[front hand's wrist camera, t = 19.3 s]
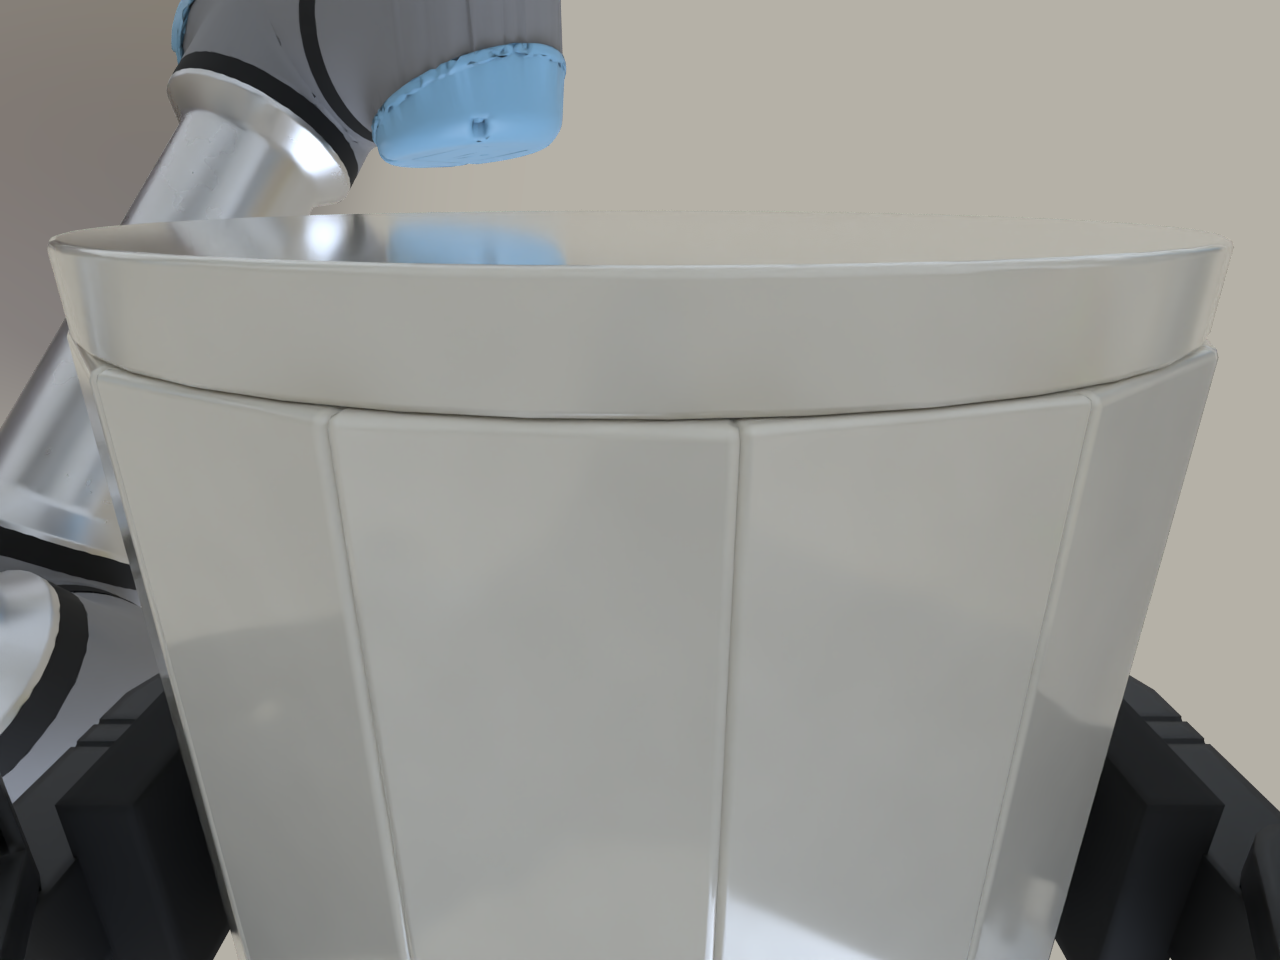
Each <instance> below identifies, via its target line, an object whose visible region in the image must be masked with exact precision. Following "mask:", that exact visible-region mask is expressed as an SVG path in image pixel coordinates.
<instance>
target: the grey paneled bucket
mask: <svg viewBox="0 0 1280 960" xmlns="http://www.w3.org/2000/svg"><path fill="white" fill-rule="evenodd" d="M47 250H48V254H49V257H50V261H51V265H52V268H53V272H54V276H55V279H56V283H57V287H58V290H59V294H60V298H61V301H62V305H63V309H64V312H65V316H66V320H67V323H68V327H69V330H68V335H67V339H68V343H69V347H70V350H71V354H72V358H73V361H74V365H75V368H76V372H77V376H78V379H79V383H80V387H81V390H82V394H83V397H84V401H85V405H86V408H87V412H88V416H89V419H90V423H91V426H92V430H93V434H94V437H95V441H96V445H97V448H98V452H99V455H100V459H101V463H102V466H103V470H104V474H105V477H106V481H107V484H108V488H109V492H110V495H111V499H112V503H113V506H114V510H115V513H116V517H117V521H118V524H119V528H120V532H121V535H122V539H123V542H124V546H125V550H126V553H127V557H128V561H129V564H130V568H131V571H132V575H133V579H134V582H135V586H136V590H137V593H138V597H139V600H140V604H141V608H142V611H143V615H144V619H145V622H146V626H147V629H148V633H149V637H150V640H151V644H152V648H153V651H154V655H155V659H156V662H157V666H158V669H159V673H160V677H161V680H162V684H163V688H164V691H165V695H166V698H167V702H168V706H169V709H170V713H171V717H172V720H173V724H174V727H175V731H176V735H177V738H178V742H179V746H180V749H181V753H182V756H183V760H184V764H185V767H186V771H187V775H188V778H189V782H190V785H191V789H192V793H193V796H194V800H195V804H196V807H197V811H198V814H199V818H200V822H201V825H202V829H203V833H204V836H205V840H206V843H207V847H208V851H209V854H210V858H211V862H212V865H213V869H214V872H215V876H216V880H217V883H218V887H219V891H220V894H221V898H222V901H223V905H224V909H225V912H226V916H227V920H228V923H229V927H230V930H231V934H232V938H233V941H234V945H235V949H236V952H237V956H238V959H239V960H1049V958H1050V954H1051V951H1052V947H1053V943H1054V940H1055V936H1056V933H1057V929H1058V926H1059V922H1060V919H1061V915H1062V912H1063V908H1064V905H1065V901H1066V897H1067V894H1068V890H1069V887H1070V883H1071V880H1072V876H1073V873H1074V869H1075V865H1076V862H1077V858H1078V855H1079V851H1080V848H1081V844H1082V841H1083V837H1084V833H1085V830H1086V826H1087V823H1088V819H1089V816H1090V812H1091V809H1092V805H1093V802H1094V798H1095V794H1096V791H1097V787H1098V784H1099V780H1100V777H1101V773H1102V770H1103V766H1104V762H1105V759H1106V755H1107V752H1108V748H1109V745H1110V741H1111V738H1112V734H1113V731H1114V727H1115V723H1116V720H1117V716H1118V713H1119V709H1120V706H1121V702H1122V699H1123V695H1124V691H1125V688H1126V684H1127V681H1128V677H1129V674H1130V670H1131V667H1132V663H1133V659H1134V656H1135V652H1136V649H1137V645H1138V642H1139V638H1140V635H1141V631H1142V628H1143V624H1144V620H1145V617H1146V613H1147V610H1148V606H1149V603H1150V599H1151V596H1152V592H1153V588H1154V585H1155V581H1156V578H1157V574H1158V571H1159V567H1160V564H1161V560H1162V557H1163V553H1164V549H1165V546H1166V542H1167V539H1168V535H1169V532H1170V528H1171V524H1172V521H1173V517H1174V514H1175V510H1176V506H1177V503H1178V500H1179V496H1180V493H1181V489H1182V486H1183V482H1184V478H1185V475H1186V471H1187V468H1188V464H1189V460H1190V457H1191V454H1192V450H1193V446H1194V443H1195V439H1196V436H1197V432H1198V429H1199V425H1200V422H1201V418H1202V414H1203V411H1204V407H1205V404H1206V400H1207V397H1208V393H1209V390H1210V386H1211V383H1212V379H1213V375H1214V372H1215V368H1216V365H1217V361H1218V354H1217V350H1216V348H1215V347H1214V346H1213V345H1212V344H1211V343H1210V342H1209V341H1208V340H1207V336H1208V335H1209V333H1210V331H1211V328H1212V324H1213V321H1214V317H1215V313H1216V310H1217V306H1218V302H1219V299H1220V295H1221V291H1222V288H1223V284H1224V281H1225V277H1226V273H1227V270H1228V266H1229V262H1230V259H1231V255H1232V251H1233V242H1232V241H1231V240H1230V239H1228V238H1226V237H1224V236H1222V235H1220V234H1216V233H1211V232H1206V231H1201V230H1194V229H1186V228H1178V227H1168V226H1157V225H1146V224H1133V223H1118V222H1103V221H1085V220H1067V219H1045V218H1022V217H996V216H965V215H933V214H893V213H842V212H773V211H502V212H431V213H382V214H342V215H308V216H278V217H253V218H230V219H209V220H190V221H174V222H158V223H144V224H131V225H120V226H110V227H100V228H92V229H85V230H78V231H71V232H68V233H64V234H60V235H57V236H54V237H52V238H51V239H50V241H49V243H48V248H47Z"/></svg>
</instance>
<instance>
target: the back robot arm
mask: <svg viewBox="0 0 1280 960" xmlns="http://www.w3.org/2000/svg"><path fill="white" fill-rule="evenodd" d="M171 44H172V50H173V51H174V52H176V55H177V61H178V66H177V67H176V69H175V71H174V72H173V74H172V76H171V78H170V79H169V82H168V85H167V96H168V99H169V101H170V104H171V106H172V108H173V111H174V113H175V116H176V118H177V120H178V123H179V125H178V127H177V128H176V130H175V132H174V133H173V135H172V137H171V139H170V140H169V142H168V144H167V145H166V147H165V149H164V150H163V152H162V154H161V156H160V157H159V159H158V161H157V162H156V164H155V166H154V167H153V169H152V171H151V172H150V174H149V176H148V178H147V179H146V181H145V183H144V185H143V186H142V188H141V190H140V191H139V193H138V195H137V196H136V198H135V200H134V202H133V203H132V205H131V207H130V208H129V210H128V212H127V213H126V215H125V217H124V219H123V220H122V222H121V224H120V225H131V224H144V223H158V222H174V221H190V220H209V219H230V218H253V217H278V216H308V215H309V214H310V212H311V210H312V208H313V207H316V206H323V205H331V204H336V203H339V202H341V201H342V200H343V199H344V198H346V196H347V194H348V192H349V190H350V188H351V186H352V184H353V182H354V180H355V178H356V176H357V175H358V173H359V171H360V169H361V167H362V165H363V163H364V161H365V159H366V157H367V155H368V153H369V152H370V151H371V150H372V149H373V148H374V147H376V146H377V147H378V151H379V154H380V156H381V158H382V159H383V160H384V161H386V162H387V163H389V164H391V165H395V166H400V167H411V168H429V167H453V166H460V165H466V164H469V163H470V164H482V163H489V162H496V161H502V160H507V159H512V158H517V157H521V156H525V155H528V154H532V153H535V152H537V151H540V150H542V149H544V148H545V147H547V146H549V144H550V143H552V141H553V140H554V139H555V138H556V136H557V135H558V133H559V131H560V129H561V125H562V117H563V92H564V79H565V75H566V63H565V60H564V57H563V55H562V28H561V0H181V1H180V3H179V5H178V8H177V11H176V14H175V18H174V22H173V27H172V43H171ZM120 225H119V226H120ZM68 330H69V327H68V323H67V320H66V317H65V319H64V321H63V323H62V324H61V326H60V328H59V329H58V331H57V333H56V334H55V336H54V338H53V339H52V341H51V343H50V345H49V346H48V348H47V350H46V351H45V353H44V355H43V357H42V358H41V360H40V362H39V363H38V365H37V367H36V369H35V370H34V372H33V374H32V375H31V377H30V379H29V380H28V382H27V384H26V385H25V387H24V389H23V391H22V392H21V394H20V396H19V397H18V399H17V401H16V403H15V404H14V406H13V408H12V410H11V411H10V413H9V414H8V416H7V418H6V420H5V421H4V423H3V425H2V426H1V428H0V774H1V776H2V779H3V781H4V784H5V786H6V789H7V792H8V794H9V797H10V799H11V802H12V804H13V803H14V802H15V801H16V800H17V799H18V798H19V797H20V796H21V795H22V794H23V793H24V792H25V791H26V790H27V789H28V788H29V787H30V786H31V785H32V784H33V783H34V782H35V781H36V780H37V779H38V778H39V777H40V776H41V775H42V774H43V773H44V772H45V771H46V770H47V769H49V768H50V767H51V766H52V765H53V764H54V763H55V762H56V761H57V760H58V759H59V758H60V757H61V756H62V755H63V754H64V753H65V752H66V751H67V750H68V749H69V748H70V747H75V746H76V744H77V740H78V739H79V738H80V737H81V736H82V735H83V734H84V733H85V732H86V731H87V730H89V729H90V728H91V727H92V726H93V725H94V724H99V719H100V718H101V717H102V716H103V715H104V714H105V713H106V712H107V711H108V710H109V709H110V708H111V707H112V706H113V705H114V704H115V703H116V702H117V701H118V700H119V699H120V698H121V697H122V696H123V695H124V694H125V693H126V692H128V691H130V690H131V689H133V688H135V687H136V686H138V685H140V684H141V683H143V682H145V681H146V680H148V679H150V678H151V677H153V676H155V675H156V674H158V673H159V669H158V666H157V662H156V659H155V655H154V651H153V648H152V644H151V640H150V637H149V633H148V629H147V626H146V622H145V619H144V615H143V611H142V608H141V604H140V600H139V597H138V593H137V590H136V586H135V582H134V579H133V575H132V571H131V568H130V564H129V561H128V557H127V553H126V550H125V546H124V542H123V539H122V535H121V532H120V528H119V524H118V521H117V517H116V513H115V510H114V506H113V503H112V499H111V495H110V492H109V488H108V484H107V481H106V477H105V474H104V470H103V466H102V463H101V459H100V455H99V452H98V448H97V445H96V441H95V437H94V434H93V430H92V426H91V423H90V419H89V416H88V412H87V408H86V405H85V401H84V397H83V394H82V390H81V387H80V383H79V379H78V376H77V372H76V368H75V365H74V361H73V358H72V354H71V350H70V347H69V343H68V339H67V335H68Z"/></svg>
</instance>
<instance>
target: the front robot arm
mask: <svg viewBox="0 0 1280 960" xmlns="http://www.w3.org/2000/svg"><path fill="white" fill-rule="evenodd" d="M229 930H230V927H229V923H228V920H227V916H226V912H225V909H224V905H223V901H222V898H221V894H220V891H219V887H218V883H217V880H216V876H215V872H214V869H213V865H212V862H211V858H210V854H209V851H208V847H207V843H206V840H205V836H204V833H203V829H202V825H201V822H200V818H199V814H198V811H197V807H196V804H195V800H194V796H193V793H192V789H191V785H190V782H189V778H188V775H187V771H186V767H185V764H184V760H183V756H182V753H181V749H180V746H179V742H178V738H177V735H176V731H175V727H174V724H173V720H172V717H171V713H170V709H169V706H168V702H167V698H166V695H165V691H164V688H163V684H162V680H161V677H160V673H158V674H156V675H155V676H153V677H151V678H150V679H148V680H146V681H145V682H143V683H141V684H140V685H138V686H136V687H135V688H133V689H131V690H130V691H128V692H126V693H125V694H124V695H123V696H122V697H121V698H120V699H119V700H118V701H117V702H116V703H115V704H114V705H113V706H112V707H111V708H110V709H109V710H108V711H107V712H106V713H105V714H104V715H103V716H102V717H101V718H100V719H99V724H94V725H93V726H92V727H91V728H90V729H89V730H87V731H86V732H85V733H84V734H83V735H82V736H81V737H80V738H79V739H78V740H77V744H76V746H75V747H70V748H69V749H68V750H67V751H66V752H65V753H64V754H63V755H62V756H61V757H60V758H59V759H58V760H57V761H56V762H55V763H54V764H53V765H52V766H51V767H50V768H49V769H47V770H46V771H45V772H44V773H43V774H42V775H41V776H40V777H39V778H38V779H37V780H36V781H35V782H34V783H33V784H32V785H31V786H30V787H29V788H28V789H27V790H26V791H25V792H24V793H23V794H22V795H21V796H20V797H19V798H18V799H17V800H16V801H15V802H14V803H13V804H12V802H11V799H10V797H9V794H8V792H7V789H6V786H5V784H4V781H3V779H2V776H1V774H0V960H213V959H214V957H215V955H216V953H217V952H218V950H219V948H220V946H221V944H222V943H223V941H224V939H225V937H226V935H227V934H228V932H229ZM1055 939H1056V941H1057V943H1058V945H1059V946H1060V948H1061V950H1062V952H1063V954H1064V955H1065V957H1066V959H1067V960H1169V958H1171V959H1172V960H1280V811H1278V809H1276V808H1275V807H1274V806H1273V805H1272V804H1271V803H1270V802H1269V801H1268V800H1267V799H1266V798H1265V797H1264V796H1263V795H1262V794H1261V793H1260V792H1259V791H1258V790H1257V789H1256V788H1255V787H1254V786H1253V785H1252V784H1251V783H1250V782H1249V781H1248V780H1247V779H1245V778H1244V777H1243V776H1242V775H1241V774H1240V773H1239V772H1238V771H1237V770H1236V769H1235V768H1234V767H1233V766H1232V765H1231V764H1230V763H1229V762H1228V761H1227V760H1226V759H1225V758H1224V757H1223V756H1222V755H1221V754H1220V753H1219V752H1218V751H1217V750H1216V749H1215V748H1213V747H1212V746H1211V745H1210V744H1205V743H1204V738H1203V737H1202V736H1201V735H1200V734H1199V733H1198V732H1197V731H1196V730H1195V729H1194V728H1193V727H1192V726H1191V725H1190V724H1189V723H1188V722H1182V719H1181V716H1180V715H1179V714H1178V713H1177V712H1176V711H1175V710H1174V709H1173V708H1172V707H1171V706H1170V705H1169V704H1168V703H1167V702H1166V701H1165V700H1164V699H1163V698H1162V697H1161V696H1160V695H1159V694H1158V693H1157V692H1156V691H1155V690H1153V689H1152V688H1150V687H1148V686H1147V685H1145V684H1143V683H1142V682H1140V681H1138V680H1137V679H1135V678H1133V677H1132V676H1130V675H1129V677H1128V681H1127V684H1126V688H1125V691H1124V695H1123V699H1122V702H1121V706H1120V709H1119V713H1118V716H1117V720H1116V723H1115V727H1114V731H1113V734H1112V738H1111V741H1110V745H1109V748H1108V752H1107V755H1106V759H1105V762H1104V766H1103V770H1102V773H1101V777H1100V780H1099V784H1098V787H1097V791H1096V794H1095V798H1094V802H1093V805H1092V809H1091V812H1090V816H1089V819H1088V823H1087V826H1086V830H1085V833H1084V837H1083V841H1082V844H1081V848H1080V851H1079V855H1078V858H1077V862H1076V865H1075V869H1074V873H1073V876H1072V880H1071V883H1070V887H1069V890H1068V894H1067V897H1066V901H1065V905H1064V908H1063V912H1062V915H1061V919H1060V922H1059V926H1058V929H1057V933H1056V936H1055Z"/></svg>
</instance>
